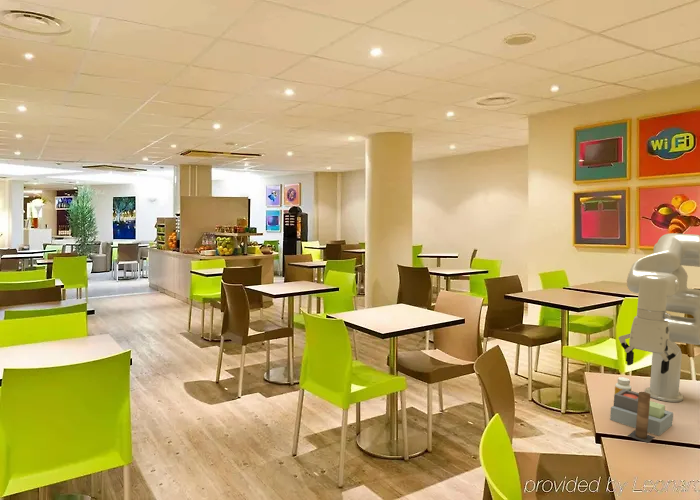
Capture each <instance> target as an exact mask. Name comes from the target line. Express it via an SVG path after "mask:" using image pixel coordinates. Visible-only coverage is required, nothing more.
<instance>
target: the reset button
mask: <svg viewBox="0 0 700 500" xmlns="http://www.w3.org/2000/svg"><path fill="white" fill-rule="evenodd" d="M624 396H627V397H630V398H634V399H637V398H638V397H637V396H635V395H632V394H624Z"/></svg>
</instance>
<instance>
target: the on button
mask: <svg viewBox="0 0 700 500" xmlns="http://www.w3.org/2000/svg"><path fill="white" fill-rule="evenodd" d="M665 410H666V404H661V403H658V402H654V401H651V400H650V407H649V416H652V417H656V418H659V419H662V418H663V417H664V413H665Z"/></svg>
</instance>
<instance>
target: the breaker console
mask: <svg viewBox="0 0 700 500" xmlns="http://www.w3.org/2000/svg"><path fill="white" fill-rule="evenodd" d="M624 394H632V395H635V396H637V397H638V396H639V392H636V391H632V390H631V391H629V390H626V389H623V390H621V391H620V392H618V393H616V394H615V393H614V395H613V397H614V398H613V406H611V408H610V414H609V416H610V418H609V419H610V421H613V422H616V423H619V424H622V425H624V426H628V427H630V428H634V429H636V420H637V408H638V398H637V399H634V398H630V397H627V396H624ZM673 419H674V412H673V411H669V410H666V409H665V413H664V417H663V418H662V419H659V418H656V417H652V416H649V419H648V431H647V434H648V433H649V434H652V435H655V436H658V437H660V436H661V435H662V434H664V433H665V432H666V431H668V430H669V429H670V428H671V427H672V426H673Z"/></svg>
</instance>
